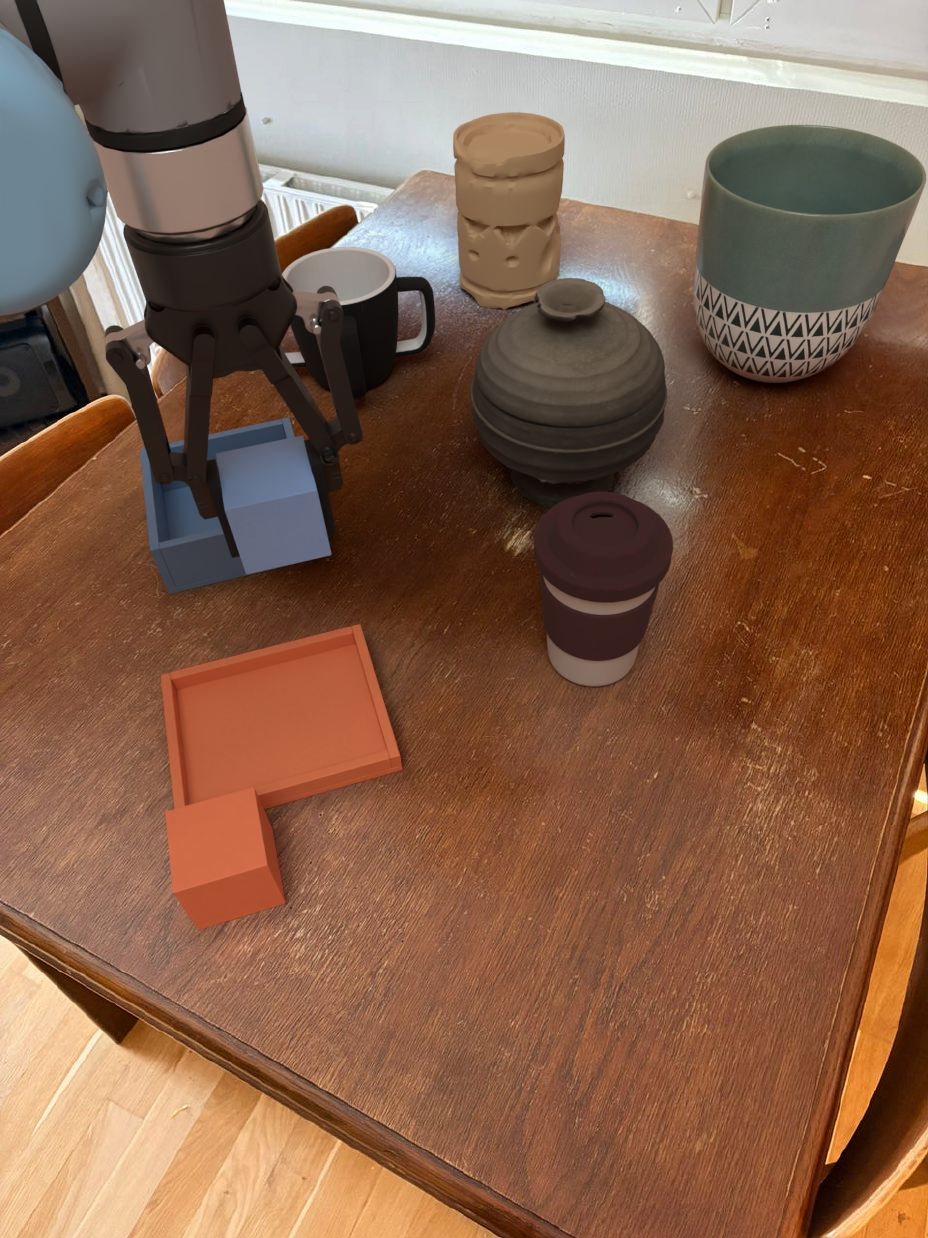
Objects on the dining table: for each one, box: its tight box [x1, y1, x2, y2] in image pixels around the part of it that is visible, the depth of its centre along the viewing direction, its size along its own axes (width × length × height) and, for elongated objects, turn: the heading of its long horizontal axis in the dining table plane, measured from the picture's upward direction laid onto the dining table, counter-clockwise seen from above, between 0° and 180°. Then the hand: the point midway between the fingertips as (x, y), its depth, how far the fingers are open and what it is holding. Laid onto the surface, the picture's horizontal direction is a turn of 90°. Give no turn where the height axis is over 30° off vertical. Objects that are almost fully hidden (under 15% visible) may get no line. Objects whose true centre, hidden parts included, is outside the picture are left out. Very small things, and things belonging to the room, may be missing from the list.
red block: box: [164, 787, 286, 931], centre depth 61 cm, size 6×6×6 cm
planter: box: [692, 124, 927, 384], centre depth 92 cm, size 20×20×21 cm
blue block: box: [216, 435, 333, 575], centre depth 62 cm, size 6×6×6 cm
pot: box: [469, 277, 668, 509], centre depth 82 cm, size 18×18×20 cm
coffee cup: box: [533, 491, 674, 687], centre depth 69 cm, size 10×10×15 cm
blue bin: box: [139, 416, 314, 595], centre depth 85 cm, size 15×15×6 cm
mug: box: [281, 246, 436, 400], centre depth 98 cm, size 16×16×12 cm
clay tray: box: [160, 623, 404, 810], centre depth 70 cm, size 17×14×2 cm
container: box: [452, 111, 566, 311], centre depth 107 cm, size 13×13×18 cm
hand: (282, 532), depth 64 cm, fingers closed on blue block, 6 cm apart
